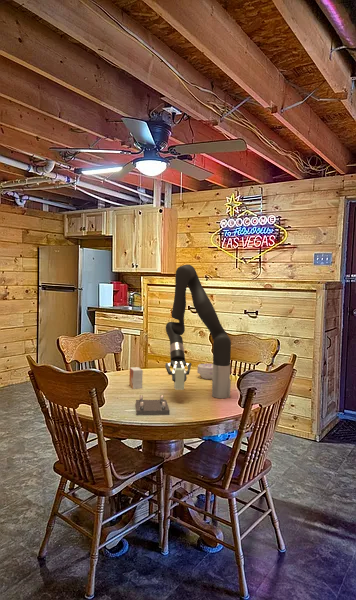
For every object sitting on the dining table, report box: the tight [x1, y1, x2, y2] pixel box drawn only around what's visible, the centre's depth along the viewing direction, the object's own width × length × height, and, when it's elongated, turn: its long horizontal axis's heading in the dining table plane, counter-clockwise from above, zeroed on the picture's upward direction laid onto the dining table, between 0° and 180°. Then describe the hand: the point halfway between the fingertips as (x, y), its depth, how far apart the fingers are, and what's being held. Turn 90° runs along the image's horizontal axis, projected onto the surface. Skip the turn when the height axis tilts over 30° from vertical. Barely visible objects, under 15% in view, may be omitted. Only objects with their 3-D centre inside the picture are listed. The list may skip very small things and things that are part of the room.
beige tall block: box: [173, 367, 186, 391], centre depth 211 cm, size 4×5×10 cm
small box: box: [128, 366, 144, 390], centre depth 239 cm, size 8×6×10 cm
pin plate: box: [135, 394, 170, 416], centre depth 199 cm, size 15×17×5 cm
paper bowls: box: [196, 363, 213, 380], centre depth 266 cm, size 15×15×8 cm
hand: (179, 381), depth 210 cm, fingers closed on beige tall block, 4 cm apart
